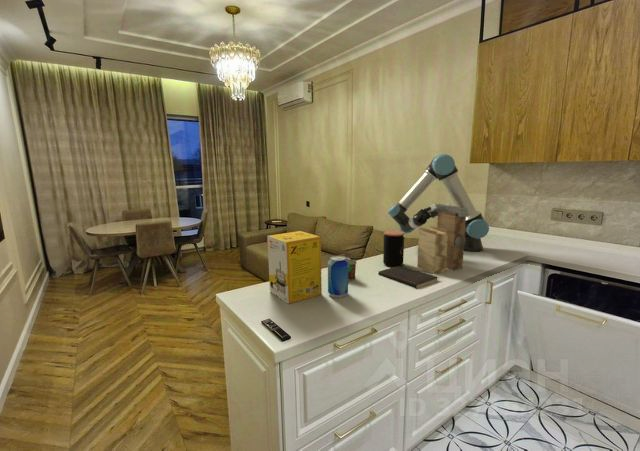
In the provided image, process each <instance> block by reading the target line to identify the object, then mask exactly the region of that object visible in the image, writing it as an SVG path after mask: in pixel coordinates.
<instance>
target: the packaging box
mask: <svg viewBox="0 0 640 451" xmlns="http://www.w3.org/2000/svg"><path fill="white" fill-rule="evenodd" d="M267 255H268V257H267V259H268V260H267V261H268V277H269V279H268V280H269V281H268V282H269V292H270V291H271V292H272V293H271V292H270V293H271V294H273V293H274V294H275V295H274V294H273V295H274V296H276V295H277V296H278V297H277V296H276V297H277V298H279V299H280V298H281V299H282V300H281V299H280V300H281V301H283V302H284V301H285V302H284V303H286V304H287V303H288V305H290V304H292V302H294V303H296V302H295V301H297V302H299V300H301V301H303V299H304V300H308V299H310V298H313V297H317V296H320V295H322V293H323V292H322V291H323V290H322V287H323V286H322V238H321V236H320V235H316V234H312V233H309V232H306V231H302V230H295V231H291V232H284V233H278V234H270V235H267ZM289 303H290V304H289Z"/></svg>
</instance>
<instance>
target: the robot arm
mask: <svg viewBox="0 0 640 451" xmlns="http://www.w3.org/2000/svg"><path fill="white" fill-rule="evenodd" d="M458 173H459V169H458V168H457V166H456V162H455V159H454V158H453V157H452V156H451V155H449V154H447V153H442V154H439V155H436V156H435V157H433V158H432V160H431V162H430V163H429V165H428V166H427V167H426V168H425V170H424V173H423V174H422V175H421V176H420V177H419V179H418V180H417V181H416V182H415V183H414V184H413V185H412V187H411V188H410V189H409V190H408V191H407V193H406V194H404V196H402V198H401V199H400V200H399V201H398V203H397V204H394V205H392V206H391V208H389V210H387V214H388V215H389V216H390V217H391V218H392V219H393V220H394V221H395V222H396V224H398V226H399V228H398V229H399V231H401V232H404V235H408V234H410V233H412V232H413V231H414V230H417V229H419V227H422V226H424V225H425V224H426V223H427V221H428V220H429V219H431V218H432V219H434V218H436V217H438V212H434V211H433V210H434V209H436V208H437V207H436V204H437V203H436V202H434V203H432V204H430V205H429V206H428V207H426V208H424V209H423V208H421V209H420V210H419V211H418V212H417V213H415V214H414V215H412V216H411V217H409V216H408V215H407V214H406V212H407V211H408V210H409V208H411V206H412V205H413V204H414V203H415V202H416V201H417V200H418V198H420V197H421V196H422V195H423V193H424V192H425V191H426V190H427V188H429V186H431V184H433V182H434V181H435V180H438V181H439V182H442V183H443V186H445V189H446V190H447V192H448V193H449V196H450V198H451V200H452V201H453V204H454V206H456V207H462V208H467V216H466V222H465V244H464V252H481V251H483V249H484V248H483V247H484V245H483V243H482V239H483V238H484V237H486V236H487V235H488V233H489V231H490V226H489V223H488V222H487V221H486V220H485V219H484V217H483V214H482V212H480V211H478V210H476V207H475V205H474V204H473V202H472V200H471V198H470V197H469V194H468V192H467V190H466V188H465V187H464V185H463V183H462V181H461V180H460V178H459V176H458ZM444 205H450V206H452V205H451V202H450V201H448V202H447V203H444Z"/></svg>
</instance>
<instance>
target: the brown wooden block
mask: <svg viewBox="0 0 640 451" xmlns="http://www.w3.org/2000/svg"><path fill="white" fill-rule="evenodd" d="M456 215H457V213H452V212H446V211H440V210H438V216H437V222H436V223H437V224H436V225H437V228H441V229H446V230H448V243H447V260H446V270H449V271H456V270H462V269H463V263H464V252H465V251H464V244H465V222H466V217H458V216H456Z"/></svg>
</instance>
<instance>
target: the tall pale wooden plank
mask: <svg viewBox="0 0 640 451" xmlns="http://www.w3.org/2000/svg"><path fill="white" fill-rule="evenodd" d="M429 226H430V227H429V228H424V227H422V226H420V227H418V240H417V241H418V242H417V245H418V247H417V263H416V264H417V268H419V269H421V270H423V271H426V272H428V273H429V274H431V275H435V274H440V273H441V274H442V273H446V272H447V268H446V260H447V243H448V230H446V229H441V228H437V227H436V226H431V225H429Z"/></svg>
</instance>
